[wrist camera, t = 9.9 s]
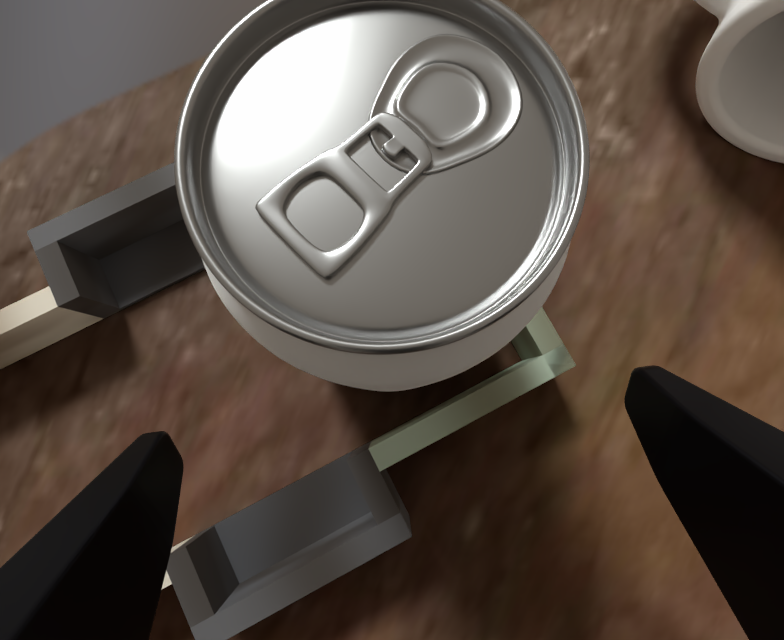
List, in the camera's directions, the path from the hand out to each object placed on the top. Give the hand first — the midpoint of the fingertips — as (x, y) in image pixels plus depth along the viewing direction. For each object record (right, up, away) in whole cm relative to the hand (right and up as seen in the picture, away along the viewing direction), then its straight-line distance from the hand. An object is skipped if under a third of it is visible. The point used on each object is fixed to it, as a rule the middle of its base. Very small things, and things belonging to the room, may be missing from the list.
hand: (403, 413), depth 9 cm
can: (0, +2, +9) cm, 10 cm away
